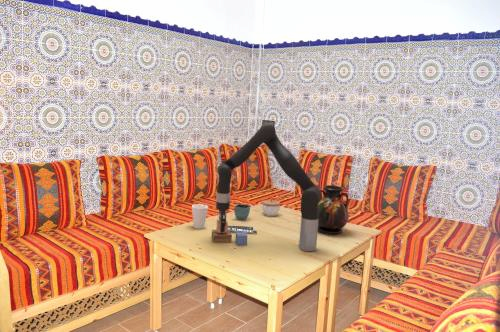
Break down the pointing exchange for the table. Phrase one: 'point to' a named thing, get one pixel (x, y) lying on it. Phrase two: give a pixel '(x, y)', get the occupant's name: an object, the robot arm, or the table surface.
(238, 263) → the table surface
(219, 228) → the terracotta block
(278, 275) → the table surface
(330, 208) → the amphora vase
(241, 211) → the flower pot
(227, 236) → the plinth
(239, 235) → the blue block
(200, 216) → the foam cup
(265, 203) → the lidded bowl
